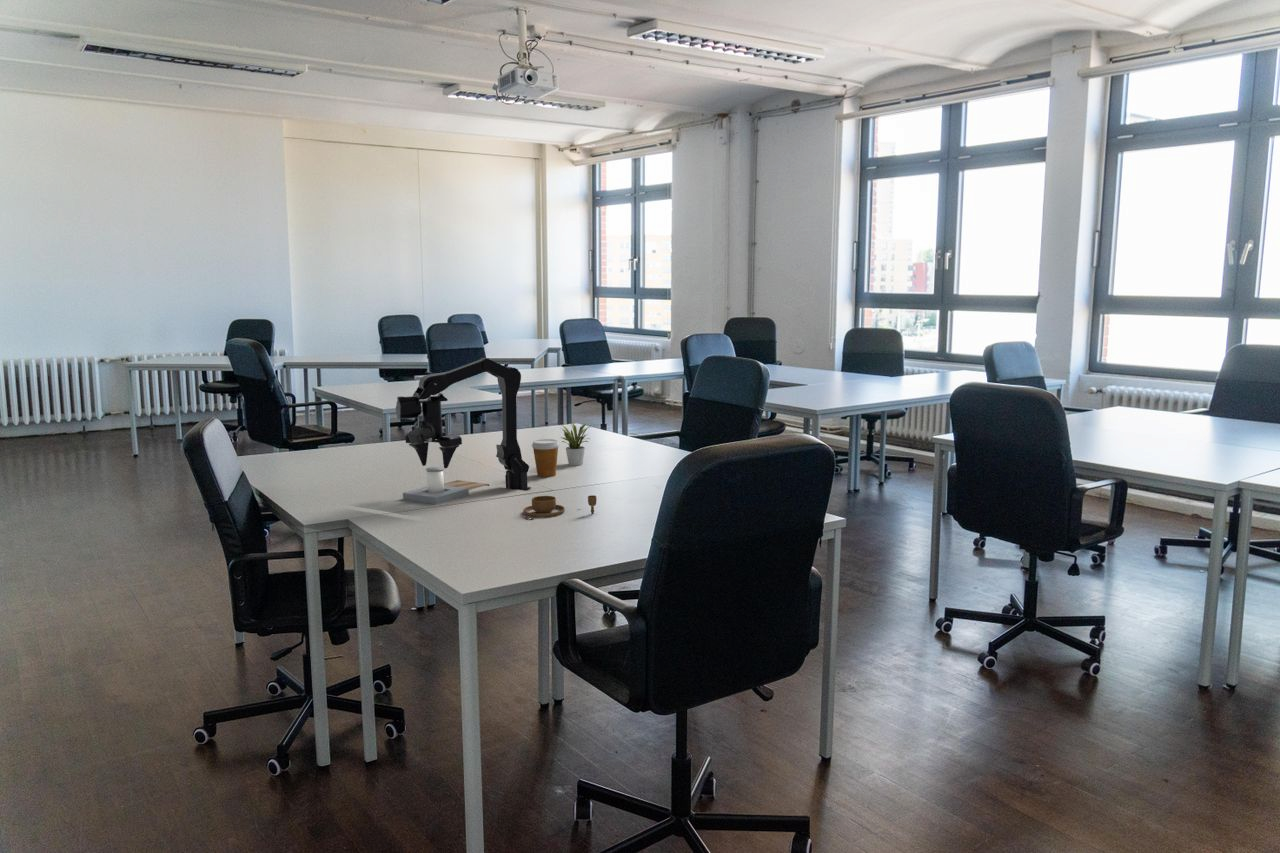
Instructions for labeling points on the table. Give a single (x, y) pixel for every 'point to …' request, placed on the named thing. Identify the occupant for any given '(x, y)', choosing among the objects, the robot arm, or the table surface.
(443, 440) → the robot arm
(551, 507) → the place setting
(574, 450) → the house plant
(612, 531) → the table surface
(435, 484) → the cylinder
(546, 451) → the disposable coffee cup
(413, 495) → the frame
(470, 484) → the walnut board
